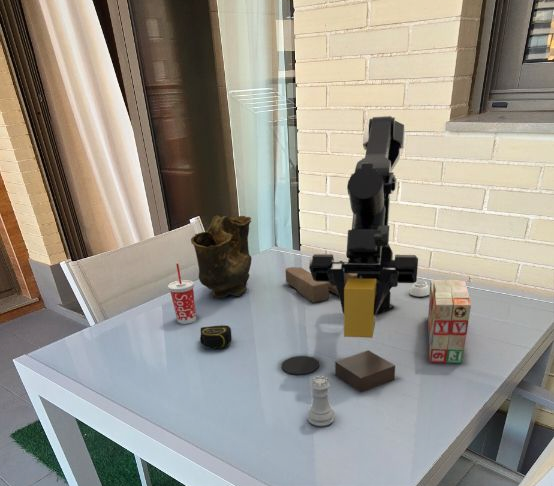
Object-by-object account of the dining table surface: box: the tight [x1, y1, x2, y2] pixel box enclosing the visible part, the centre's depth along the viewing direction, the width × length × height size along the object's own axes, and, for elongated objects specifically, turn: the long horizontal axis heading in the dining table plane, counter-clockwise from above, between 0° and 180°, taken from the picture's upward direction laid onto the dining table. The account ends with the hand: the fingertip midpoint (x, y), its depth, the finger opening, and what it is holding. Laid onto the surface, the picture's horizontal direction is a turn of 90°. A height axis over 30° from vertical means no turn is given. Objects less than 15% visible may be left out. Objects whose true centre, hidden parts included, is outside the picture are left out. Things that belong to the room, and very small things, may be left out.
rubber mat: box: [281, 355, 320, 376], centre depth 108 cm, size 8×8×1 cm
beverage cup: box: [167, 262, 197, 325], centre depth 128 cm, size 6×6×14 cm
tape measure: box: [199, 324, 233, 349], centre depth 118 cm, size 7×7×4 cm
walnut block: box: [334, 349, 396, 393], centre depth 102 cm, size 8×8×3 cm
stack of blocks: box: [427, 279, 472, 364], centre depth 110 cm, size 21×6×12 cm, turn 168°
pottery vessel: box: [190, 215, 252, 299], centre depth 141 cm, size 25×11×20 cm, turn 162°
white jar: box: [409, 280, 430, 298], centre depth 135 cm, size 5×3×5 cm
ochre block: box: [343, 278, 377, 339], centre depth 95 cm, size 5×5×9 cm
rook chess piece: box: [307, 375, 335, 428], centre depth 89 cm, size 4×4×8 cm
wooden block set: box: [284, 266, 357, 304], centre depth 143 cm, size 17×6×18 cm
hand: (358, 313), depth 95 cm, fingers closed on ochre block, 5 cm apart
